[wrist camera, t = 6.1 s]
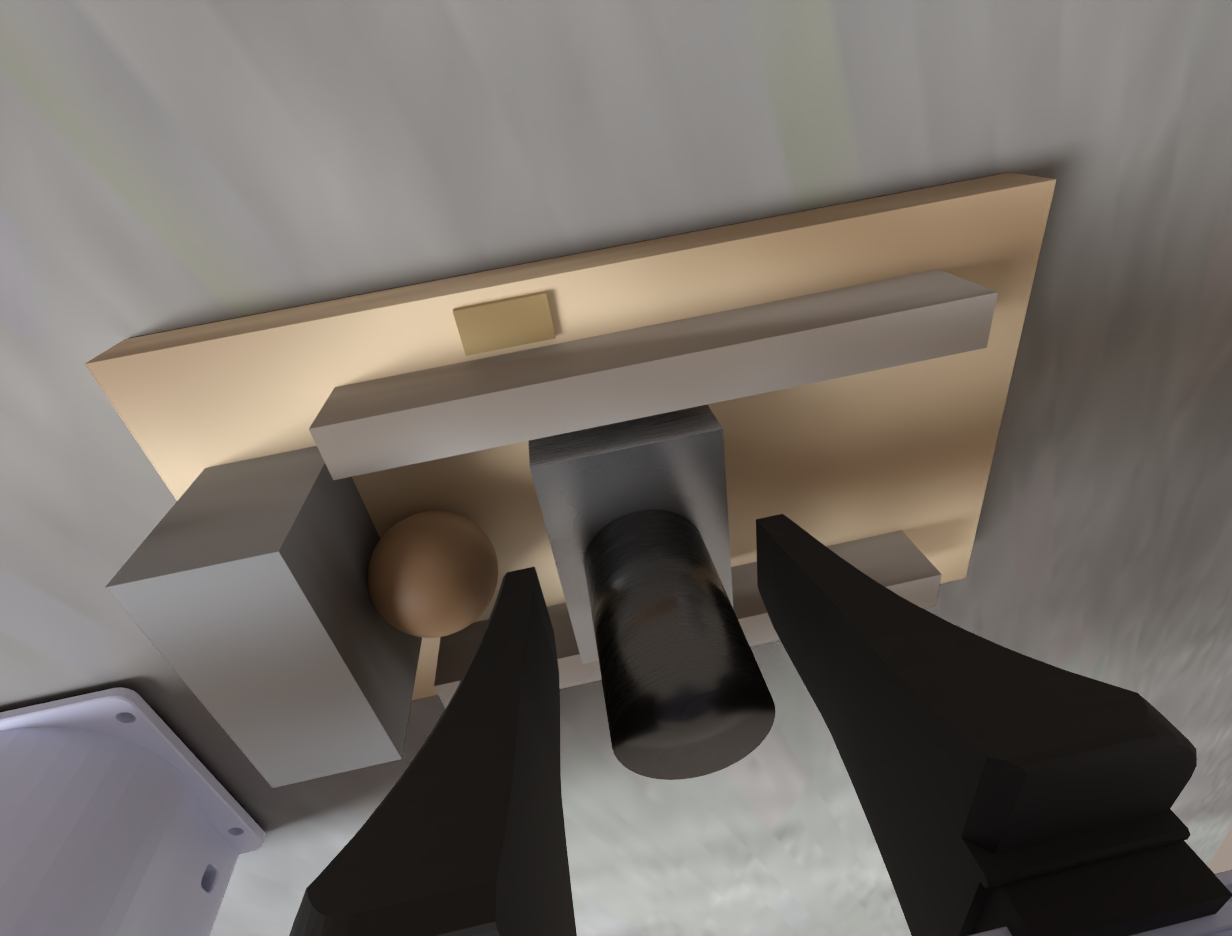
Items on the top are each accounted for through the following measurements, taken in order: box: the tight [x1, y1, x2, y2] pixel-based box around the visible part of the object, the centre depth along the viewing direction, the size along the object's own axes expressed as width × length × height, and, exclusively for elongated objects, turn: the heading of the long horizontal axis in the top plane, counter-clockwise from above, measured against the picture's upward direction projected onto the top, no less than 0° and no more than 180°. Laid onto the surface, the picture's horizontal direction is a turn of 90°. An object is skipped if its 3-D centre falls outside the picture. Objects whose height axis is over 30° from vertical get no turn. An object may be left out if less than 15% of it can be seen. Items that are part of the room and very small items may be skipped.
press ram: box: [529, 405, 775, 780], centre depth 13 cm, size 6×4×7 cm, turn 8°
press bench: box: [85, 172, 1056, 788], centre depth 15 cm, size 12×21×6 cm, turn 98°
